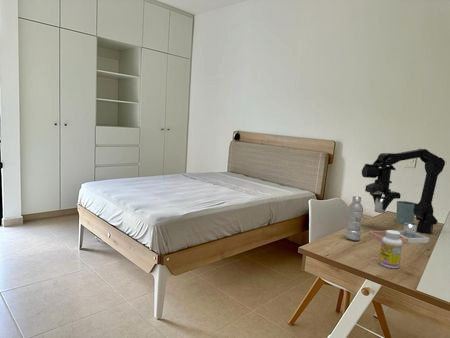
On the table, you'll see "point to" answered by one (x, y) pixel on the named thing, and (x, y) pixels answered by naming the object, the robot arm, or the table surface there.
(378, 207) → the steel billet
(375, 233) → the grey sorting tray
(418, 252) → the table surface
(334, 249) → the table surface
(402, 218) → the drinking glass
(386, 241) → the supplement bottle
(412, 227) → the billet
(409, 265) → the table surface
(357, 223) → the plastic bottle
